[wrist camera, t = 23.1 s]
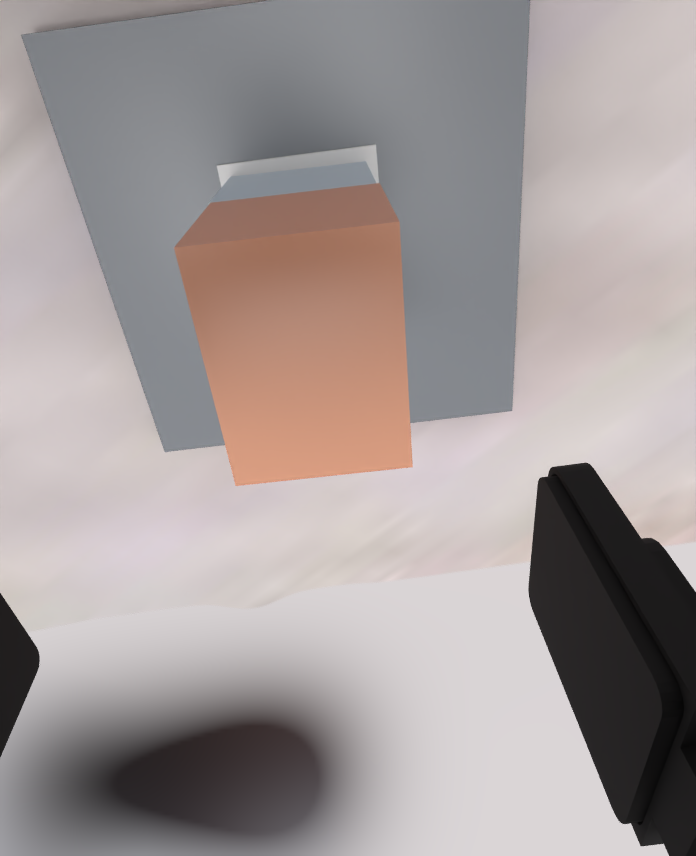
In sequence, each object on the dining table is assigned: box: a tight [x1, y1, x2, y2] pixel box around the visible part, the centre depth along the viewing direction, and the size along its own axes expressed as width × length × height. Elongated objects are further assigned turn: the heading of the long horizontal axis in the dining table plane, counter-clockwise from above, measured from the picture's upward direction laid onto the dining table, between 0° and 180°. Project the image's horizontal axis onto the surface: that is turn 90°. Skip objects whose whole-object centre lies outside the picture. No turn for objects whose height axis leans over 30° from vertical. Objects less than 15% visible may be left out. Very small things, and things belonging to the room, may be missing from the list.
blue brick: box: [208, 161, 376, 205], centre depth 25 cm, size 8×6×6 cm
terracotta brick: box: [174, 183, 412, 486], centre depth 20 cm, size 8×6×6 cm
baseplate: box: [21, 0, 530, 452], centre depth 28 cm, size 20×20×1 cm
